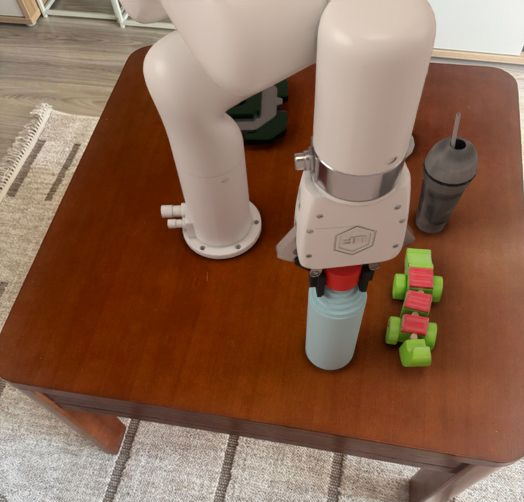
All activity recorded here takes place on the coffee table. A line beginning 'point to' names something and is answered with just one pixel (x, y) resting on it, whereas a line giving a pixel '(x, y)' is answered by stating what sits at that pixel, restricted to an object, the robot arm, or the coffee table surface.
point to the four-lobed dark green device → (262, 115)
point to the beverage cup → (445, 180)
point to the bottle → (333, 326)
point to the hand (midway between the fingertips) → (339, 283)
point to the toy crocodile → (415, 309)
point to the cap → (342, 277)
